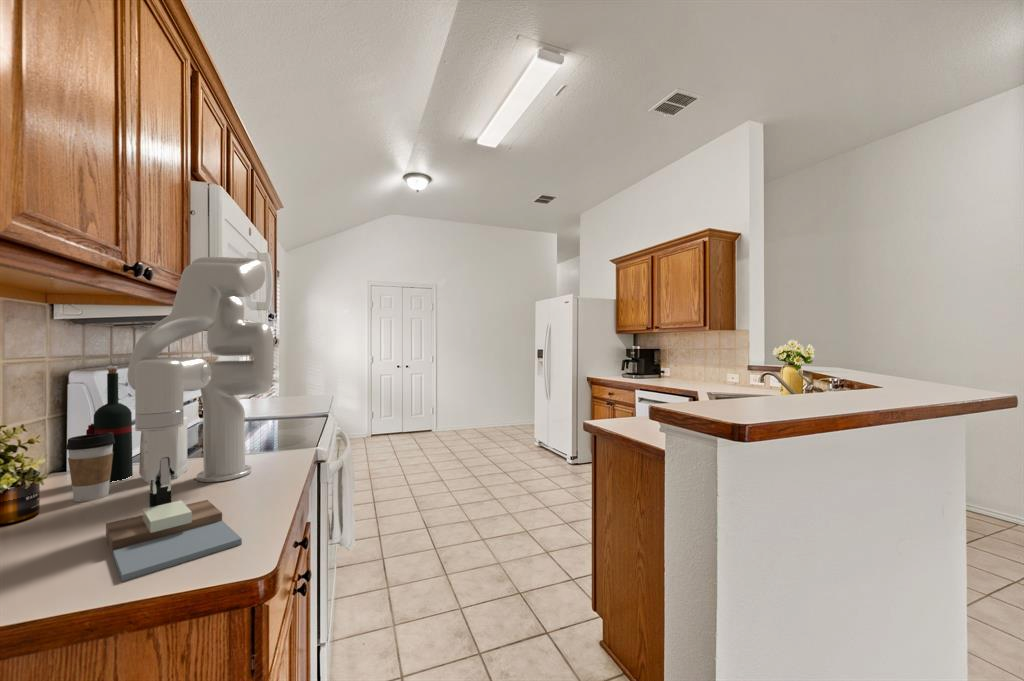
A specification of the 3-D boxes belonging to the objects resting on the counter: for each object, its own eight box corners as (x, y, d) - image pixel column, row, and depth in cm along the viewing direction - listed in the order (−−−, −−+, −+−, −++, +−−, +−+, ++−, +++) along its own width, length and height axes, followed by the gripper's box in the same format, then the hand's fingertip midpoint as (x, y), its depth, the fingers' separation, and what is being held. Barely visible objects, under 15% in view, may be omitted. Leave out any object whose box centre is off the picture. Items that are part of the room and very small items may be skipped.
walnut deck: (105, 536, 81) (105, 523, 81) (207, 511, 92) (207, 499, 92) (112, 555, 73) (112, 541, 73) (222, 525, 85) (222, 512, 85)
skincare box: (161, 472, 121) (161, 417, 121) (189, 470, 124) (189, 416, 124) (148, 481, 113) (148, 423, 113) (178, 478, 116) (178, 421, 116)
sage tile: (142, 519, 82) (142, 508, 82) (181, 510, 87) (181, 500, 87) (150, 532, 76) (150, 521, 76) (191, 522, 81) (191, 511, 81)
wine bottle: (85, 480, 115) (84, 369, 115) (135, 473, 121) (134, 367, 121) (76, 488, 109) (76, 370, 109) (129, 480, 114) (129, 368, 115)
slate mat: (112, 556, 73) (112, 550, 73) (222, 525, 85) (222, 520, 85) (122, 581, 65) (122, 575, 65) (241, 544, 77) (241, 538, 77)
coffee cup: (99, 502, 99) (99, 437, 99) (55, 505, 97) (55, 439, 97) (124, 489, 107) (123, 430, 107) (83, 492, 105) (83, 432, 105)
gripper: (130, 419, 88) (130, 507, 88) (141, 427, 78) (141, 528, 78) (175, 414, 94) (176, 497, 94) (191, 422, 84) (192, 515, 84)
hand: (160, 511), depth 86 cm, fingers closed
